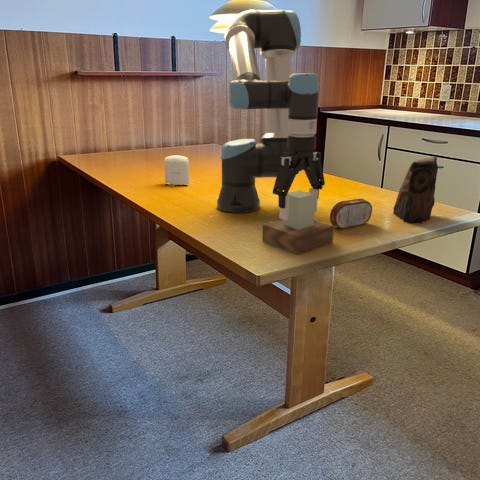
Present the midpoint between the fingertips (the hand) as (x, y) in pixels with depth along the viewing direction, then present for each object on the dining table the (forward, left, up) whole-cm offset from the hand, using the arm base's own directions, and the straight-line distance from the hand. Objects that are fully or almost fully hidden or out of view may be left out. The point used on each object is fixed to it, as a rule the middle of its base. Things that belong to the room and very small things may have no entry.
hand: (298, 214), depth 136 cm
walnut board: (0, 0, -8) cm, 8 cm away
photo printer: (-80, +12, -8) cm, 81 cm away
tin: (+1, +23, -8) cm, 24 cm away
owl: (+8, +46, -8) cm, 47 cm away
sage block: (0, 0, -3) cm, 3 cm away
